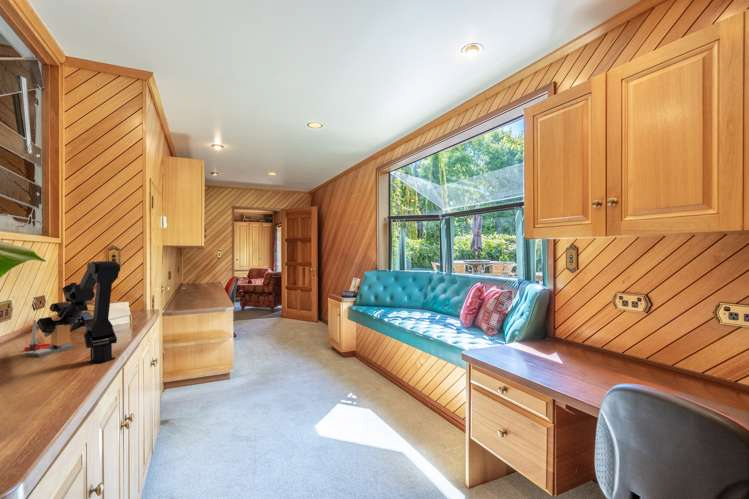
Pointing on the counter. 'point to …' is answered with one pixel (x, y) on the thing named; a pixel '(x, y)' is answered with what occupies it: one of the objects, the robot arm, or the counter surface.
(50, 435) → the counter surface
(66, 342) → the orange sleeve
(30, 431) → the counter surface
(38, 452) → the counter surface
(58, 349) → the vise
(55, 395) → the counter surface
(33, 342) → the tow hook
